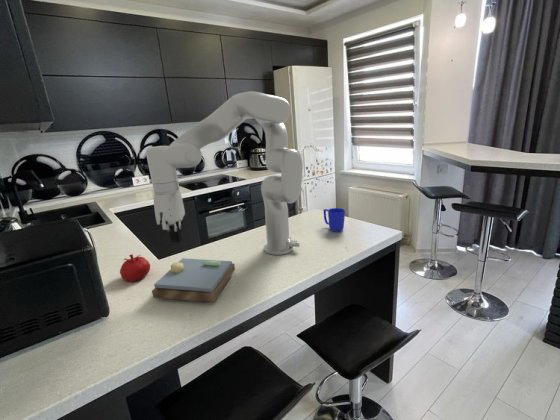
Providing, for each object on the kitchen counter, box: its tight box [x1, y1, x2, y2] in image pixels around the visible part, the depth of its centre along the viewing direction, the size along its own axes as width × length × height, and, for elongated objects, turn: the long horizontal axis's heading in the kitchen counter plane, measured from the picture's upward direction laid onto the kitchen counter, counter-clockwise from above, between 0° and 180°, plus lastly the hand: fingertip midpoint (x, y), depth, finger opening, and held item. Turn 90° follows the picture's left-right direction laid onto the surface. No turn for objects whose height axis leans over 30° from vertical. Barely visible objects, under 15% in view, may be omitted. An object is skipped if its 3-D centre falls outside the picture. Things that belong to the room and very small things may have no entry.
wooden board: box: [151, 262, 236, 303], centre depth 98 cm, size 20×20×4 cm
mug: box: [323, 207, 346, 232], centre depth 144 cm, size 8×12×10 cm
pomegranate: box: [119, 253, 151, 283], centre depth 106 cm, size 10×10×9 cm
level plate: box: [153, 257, 233, 292], centre depth 97 cm, size 19×18×3 cm
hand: (177, 241), depth 96 cm, fingers closed
